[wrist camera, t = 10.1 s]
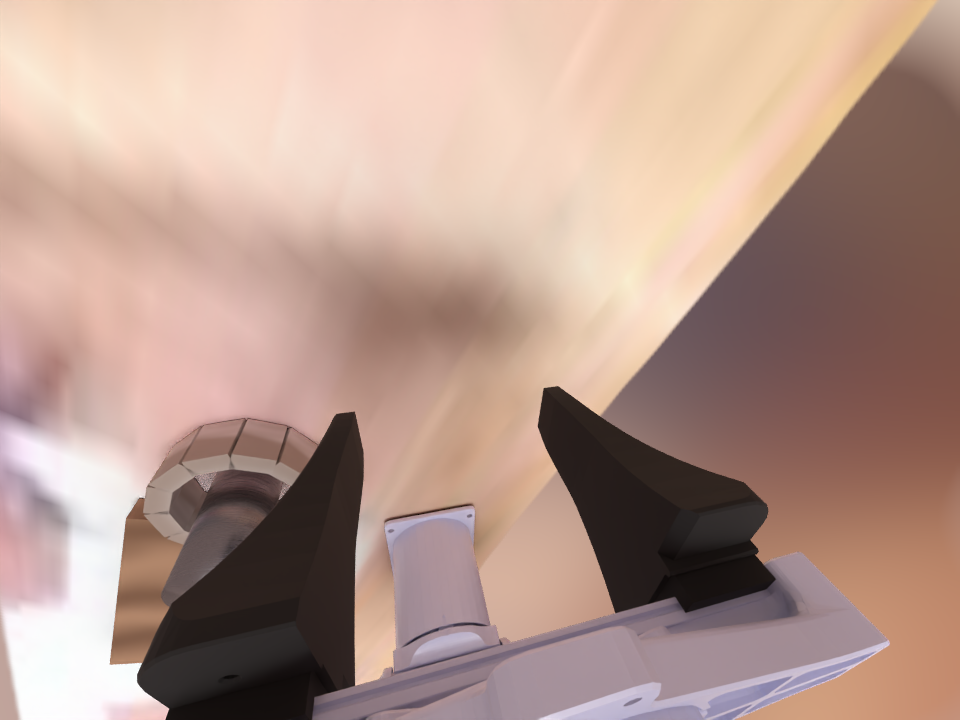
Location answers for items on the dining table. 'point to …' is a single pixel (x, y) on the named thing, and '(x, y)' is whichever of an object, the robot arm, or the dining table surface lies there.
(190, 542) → the hinge pin
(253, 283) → the dining table surface
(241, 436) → the brown piece
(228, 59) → the dining table surface
